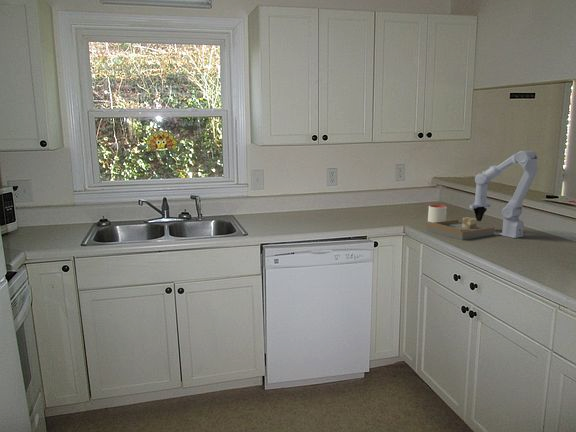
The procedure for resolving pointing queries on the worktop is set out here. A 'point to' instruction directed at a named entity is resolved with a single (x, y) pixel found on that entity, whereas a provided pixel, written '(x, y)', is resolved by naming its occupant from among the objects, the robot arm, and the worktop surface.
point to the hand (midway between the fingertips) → (478, 220)
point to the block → (469, 222)
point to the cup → (437, 213)
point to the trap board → (457, 230)
